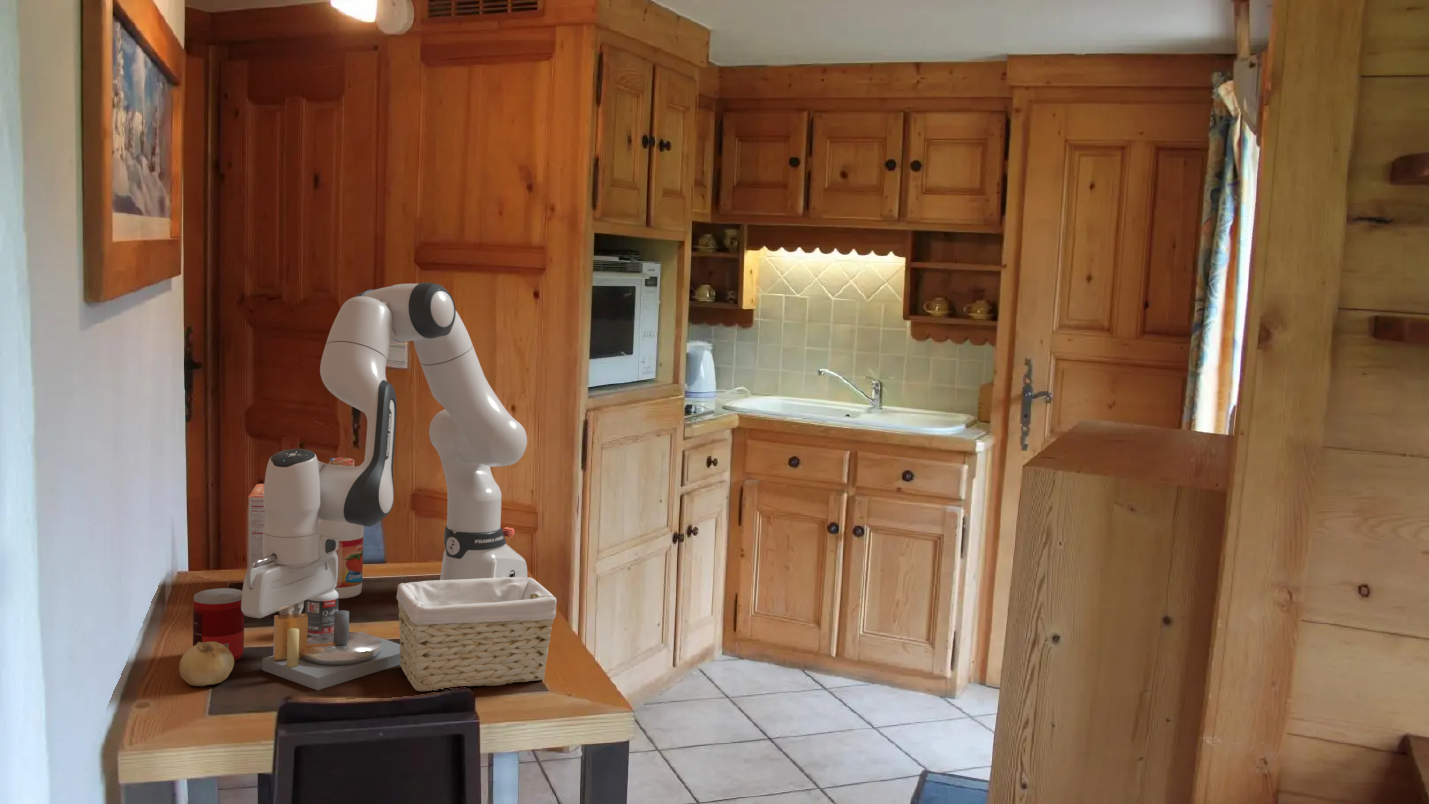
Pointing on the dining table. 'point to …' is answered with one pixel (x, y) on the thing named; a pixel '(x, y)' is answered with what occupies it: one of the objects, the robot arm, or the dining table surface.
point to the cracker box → (255, 524)
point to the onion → (206, 664)
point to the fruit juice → (346, 548)
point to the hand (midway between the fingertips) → (290, 628)
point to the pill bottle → (321, 612)
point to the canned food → (219, 619)
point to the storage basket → (474, 631)
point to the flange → (323, 643)
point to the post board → (329, 674)
